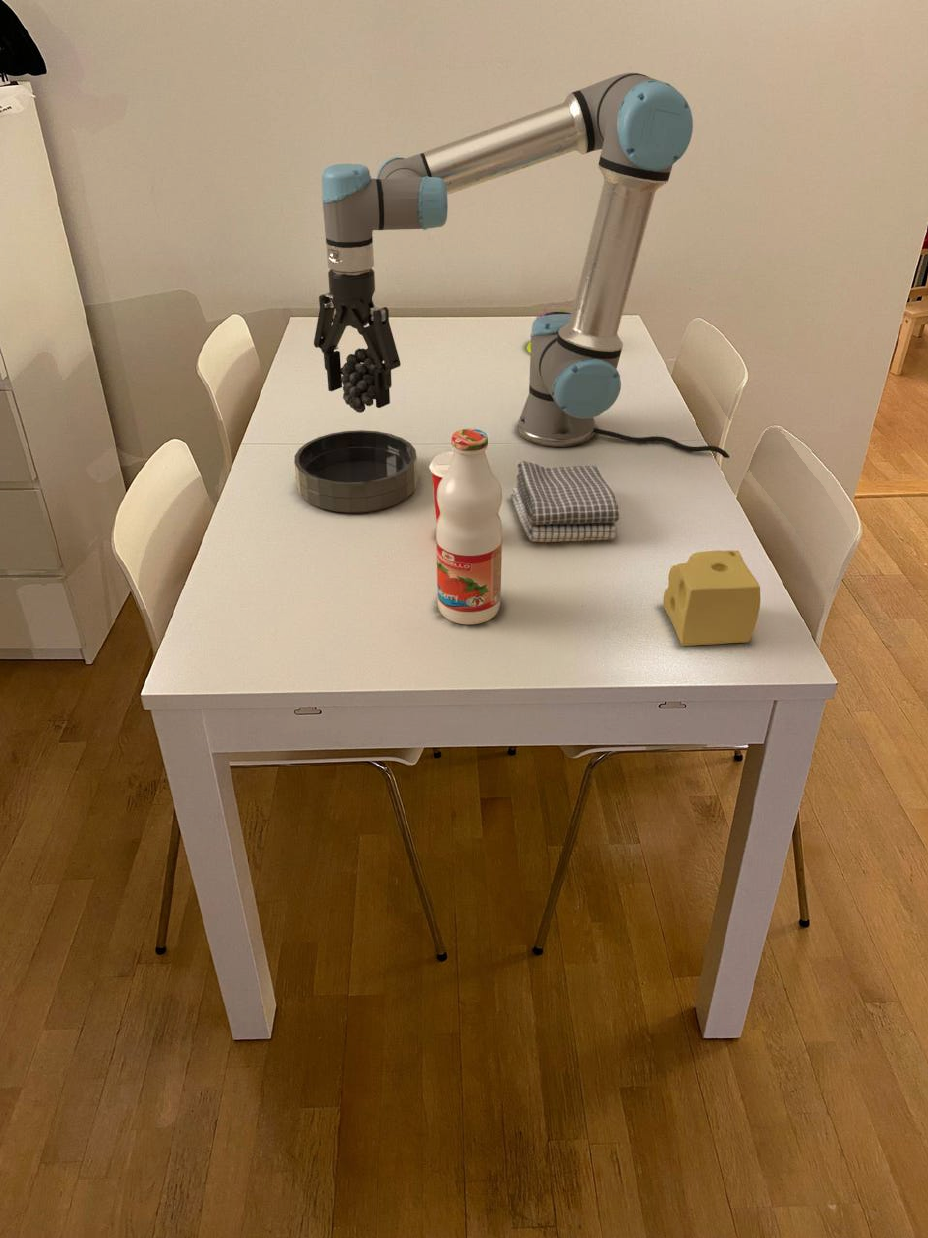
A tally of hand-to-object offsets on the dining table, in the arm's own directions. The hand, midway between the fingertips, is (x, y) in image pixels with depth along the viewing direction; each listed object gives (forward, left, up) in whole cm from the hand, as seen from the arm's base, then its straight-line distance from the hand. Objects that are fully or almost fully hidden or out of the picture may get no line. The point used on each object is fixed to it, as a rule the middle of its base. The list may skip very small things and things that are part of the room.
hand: (358, 396), depth 174 cm
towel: (-37, -10, -16) cm, 42 cm away
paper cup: (-26, +6, -16) cm, 31 cm away
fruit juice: (-41, +21, -16) cm, 49 cm away
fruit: (0, 0, -1) cm, 1 cm away
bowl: (-1, +3, -16) cm, 16 cm away
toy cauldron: (+10, -78, -16) cm, 80 cm away
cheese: (-71, +3, -16) cm, 73 cm away
